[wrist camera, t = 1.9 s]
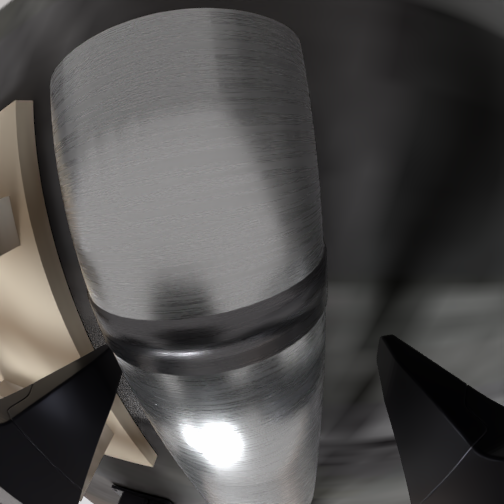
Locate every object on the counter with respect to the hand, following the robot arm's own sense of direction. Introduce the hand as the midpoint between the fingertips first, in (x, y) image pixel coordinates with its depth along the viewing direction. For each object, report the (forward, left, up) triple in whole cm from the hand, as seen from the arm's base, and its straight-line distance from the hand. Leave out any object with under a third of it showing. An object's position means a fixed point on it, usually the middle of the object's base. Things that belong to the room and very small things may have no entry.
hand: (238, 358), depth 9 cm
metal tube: (0, 0, -1) cm, 1 cm away
